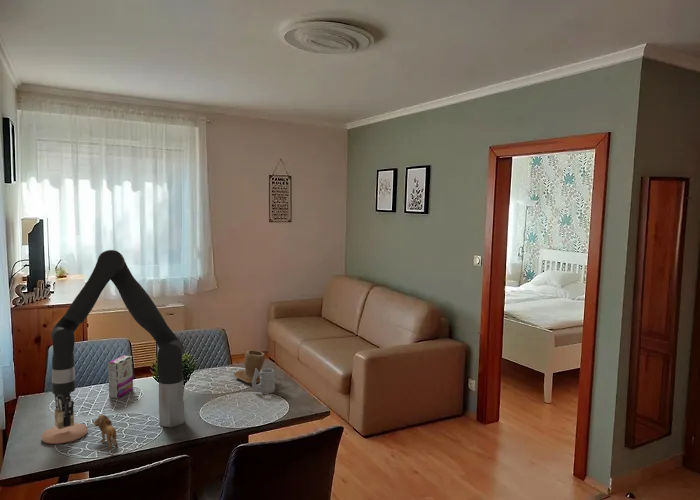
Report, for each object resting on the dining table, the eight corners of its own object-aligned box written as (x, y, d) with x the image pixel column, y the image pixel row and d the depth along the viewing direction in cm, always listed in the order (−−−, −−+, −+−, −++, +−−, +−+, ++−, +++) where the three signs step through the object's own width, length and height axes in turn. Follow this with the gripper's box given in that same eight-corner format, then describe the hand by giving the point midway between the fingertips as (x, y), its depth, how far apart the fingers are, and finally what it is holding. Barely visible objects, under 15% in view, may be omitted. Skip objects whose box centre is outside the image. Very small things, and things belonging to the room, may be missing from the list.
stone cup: (269, 381, 250) (269, 352, 249) (247, 387, 242) (248, 356, 241) (253, 373, 262) (253, 345, 260) (232, 378, 254) (233, 349, 253)
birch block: (74, 425, 187) (73, 409, 187) (59, 429, 184) (58, 413, 183) (69, 421, 191) (69, 405, 190) (54, 425, 187) (54, 409, 187)
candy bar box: (123, 389, 236) (123, 355, 234) (133, 390, 235) (132, 355, 233) (107, 397, 225) (107, 362, 224) (117, 398, 224) (117, 363, 223)
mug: (278, 391, 238) (278, 366, 237) (256, 396, 230) (256, 371, 229) (270, 386, 244) (270, 362, 242) (248, 391, 236) (248, 367, 235)
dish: (93, 436, 188) (93, 432, 188) (48, 449, 177) (48, 445, 177) (79, 423, 198) (79, 419, 198) (36, 435, 187) (36, 431, 187)
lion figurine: (92, 439, 185) (91, 415, 185) (106, 434, 190) (106, 411, 189) (111, 452, 176) (110, 427, 175) (126, 447, 180) (125, 422, 180)
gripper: (81, 381, 184) (82, 426, 185) (68, 372, 193) (68, 414, 195) (58, 386, 178) (59, 432, 180) (46, 376, 188) (47, 420, 189)
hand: (64, 423), depth 187 cm, fingers closed on birch block, 5 cm apart
